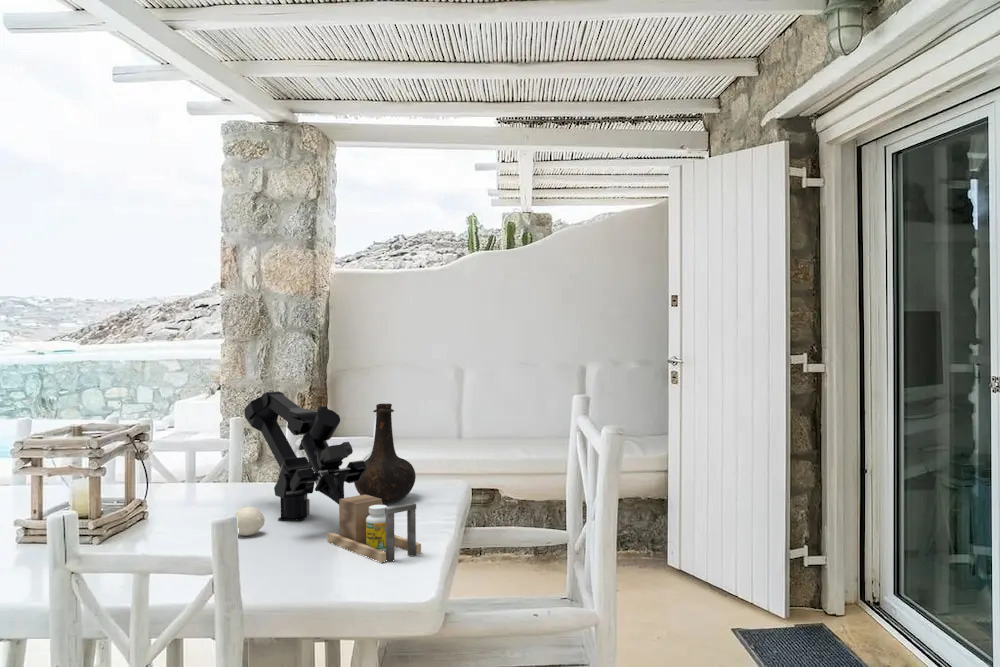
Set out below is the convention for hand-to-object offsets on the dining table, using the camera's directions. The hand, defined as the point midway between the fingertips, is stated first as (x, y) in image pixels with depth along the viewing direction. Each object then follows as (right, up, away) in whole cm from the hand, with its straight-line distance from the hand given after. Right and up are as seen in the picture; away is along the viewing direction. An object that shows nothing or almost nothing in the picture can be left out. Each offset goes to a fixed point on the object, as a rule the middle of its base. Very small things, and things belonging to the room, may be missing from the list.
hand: (342, 504), depth 173 cm
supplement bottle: (+10, -8, -11) cm, 17 cm away
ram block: (+6, -8, -6) cm, 11 cm away
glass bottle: (+4, -8, +38) cm, 39 cm away
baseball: (-23, -8, +2) cm, 24 cm away
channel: (+9, -7, -9) cm, 15 cm away
